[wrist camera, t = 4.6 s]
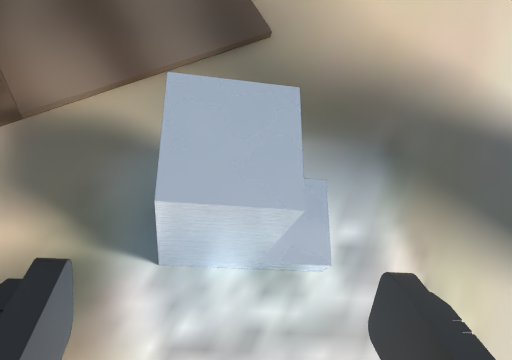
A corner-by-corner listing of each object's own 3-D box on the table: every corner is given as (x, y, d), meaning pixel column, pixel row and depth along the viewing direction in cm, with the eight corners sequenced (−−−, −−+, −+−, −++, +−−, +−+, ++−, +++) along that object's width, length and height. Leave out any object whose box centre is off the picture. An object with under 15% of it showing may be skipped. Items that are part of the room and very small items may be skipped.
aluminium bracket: (158, 265, 20) (154, 200, 12) (166, 179, 22) (167, 71, 14) (321, 271, 22) (415, 217, 13) (316, 190, 23) (397, 99, 15)
